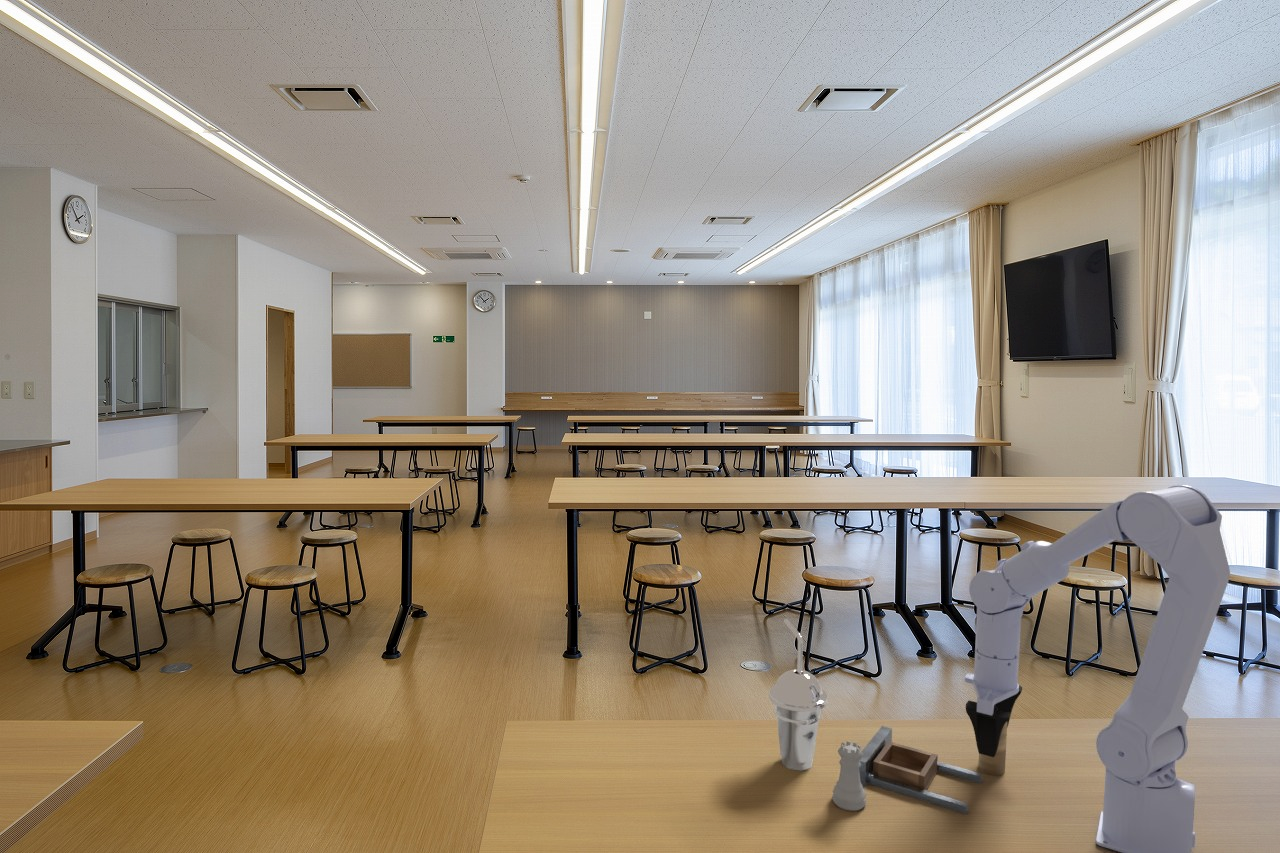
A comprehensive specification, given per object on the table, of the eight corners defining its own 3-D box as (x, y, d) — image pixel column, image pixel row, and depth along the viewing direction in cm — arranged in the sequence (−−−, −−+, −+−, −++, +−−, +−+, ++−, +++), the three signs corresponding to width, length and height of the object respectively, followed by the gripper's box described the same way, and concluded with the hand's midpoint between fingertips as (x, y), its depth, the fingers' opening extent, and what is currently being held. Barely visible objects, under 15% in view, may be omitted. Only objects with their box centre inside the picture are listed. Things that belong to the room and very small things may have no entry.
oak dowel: (1006, 767, 115) (1009, 717, 114) (1002, 778, 112) (1004, 727, 111) (981, 760, 117) (983, 711, 116) (975, 770, 114) (978, 720, 113)
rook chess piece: (867, 814, 103) (869, 756, 102) (832, 810, 104) (833, 752, 103) (865, 795, 107) (867, 739, 106) (831, 791, 108) (832, 735, 107)
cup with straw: (765, 773, 113) (767, 637, 111) (770, 743, 121) (772, 616, 120) (826, 781, 111) (829, 643, 109) (826, 749, 119) (830, 621, 117)
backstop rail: (983, 777, 112) (984, 753, 112) (964, 818, 102) (965, 792, 102) (881, 747, 120) (882, 725, 120) (854, 783, 110) (855, 759, 110)
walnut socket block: (937, 772, 113) (937, 754, 113) (923, 794, 107) (924, 776, 107) (888, 757, 117) (888, 741, 117) (872, 779, 111) (873, 761, 111)
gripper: (977, 631, 121) (973, 716, 122) (955, 662, 109) (951, 756, 110) (1028, 641, 117) (1023, 729, 118) (1011, 674, 105) (1005, 771, 106)
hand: (992, 743), depth 114 cm, fingers open, 7 cm apart
